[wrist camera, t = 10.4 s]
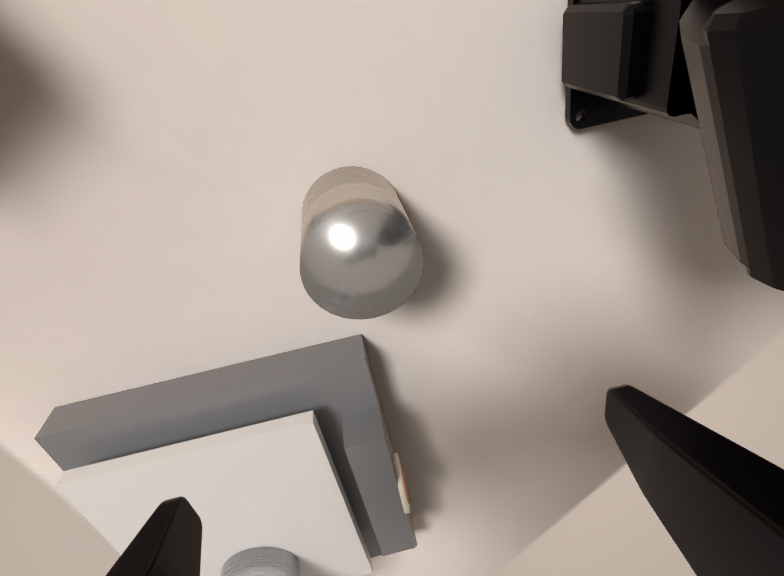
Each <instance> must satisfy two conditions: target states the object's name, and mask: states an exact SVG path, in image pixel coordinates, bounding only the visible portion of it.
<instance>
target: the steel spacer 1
mask: <svg viewBox="0 0 784 576" xmlns="http://www.w3.org/2000/svg"><path fill="white" fill-rule="evenodd" d="M220 576H300V562H299V560H298V558H297V557H296V556H295V555H294V554H293V553H292V552H290V551H288V550H285V549H282V548H278V547H268V546H264V547H255V548H250V549H246V550H243V551H241V552H238V553H236V554H235V555H233V556H231V557H230V558H229V559H228V560H227V561H226V562H225V563H224V564H223V566H222V569H221V575H220Z"/></svg>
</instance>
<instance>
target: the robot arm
mask: <svg viewBox="0 0 784 576" xmlns="http://www.w3.org/2000/svg"><path fill="white" fill-rule="evenodd" d="M562 82H563V83H564V84H565V85H566V110H565V118H566V122H567V124H568V125H569V126H571V127H573V128H576V129H582V128H587V127H591V126H596V125H600V124H604V123H609V122H613V121H618V120H622V119H626V118H631V117H635V116H640V115H644V114H648V113H649V114H652V115H656V116H659V117H662V118H666V119H669V120H673V121H676V122H680V123H683V124H686V125H690V126H693V127H697V128H700V130H701V134H702V139H703V144H704V149H705V153H706V158H707V163H708V168H709V173H710V177H711V182H712V187H713V192H714V196H715V201H716V206H717V211H718V215H719V220H720V225H721V230H722V234H723V239H724V243H725V245H726V246H727V247H728V248H729V249H730V251H731V252H732V253H733V254H734V255H735V256H736V258H737V259H738V260H739V261H740V262H741V263H742V264H744V265H745V266H746V268H747V273H748V274H749V275H750V277H752V278H754V279H756V280H758V281H760V282H762V283H764V284H766V285H768V286H771V287H773V288H775V289H779V290H782V291H784V0H568V7H567V9H566V10H565V12H564V14H563V54H562ZM581 110H582V113H583V114H582V117H581V118H580V120H578V121H576V114H577V113H578V112H579V111H581ZM605 420H606V423H607V425H608V428H609V429H610V431H611V433H612V435H613V437H614V439H615V441H616V443H617V445H618V447H619V449H620V451H621V453H622V454H623V456H624V458H625V460H626V462H627V464H628V466H629V468H630V470H631V472H632V474H633V476H634V478H635V479H636V481H637V483H638V485H639V487H640V489H641V490H642V492H643V494H644V496H645V497H646V499H647V500H648V502H649V504H650V505H651V507H652V508H653V509H654V511H655V513H656V514H657V516H658V517H659V519H660V520H661V522H662V523H663V525H664V526H665V528H666V530H667V531H668V533H669V534H670V535H671V537H672V539H673V540H674V542H675V543H676V545H677V546H678V548H679V549H680V551H681V552H682V554H683V555H684V557H685V558H686V560H687V561H688V563H689V564H690V566H691V568H692V569H693V571H694V572H695V574H696V575H697V576H784V469H782V468H780V467H778V466H776V465H775V464H773V463H771V462H769V461H767V460H766V459H764V458H762V457H760V456H758V455H756V454H755V453H753V452H751V451H749V450H747V449H746V448H744V447H742V446H740V445H738V444H736V443H735V442H733V441H731V440H729V439H727V438H725V437H724V436H722V435H720V434H718V433H716V432H714V431H713V430H711V429H709V428H707V427H705V426H704V425H702V424H700V423H698V422H696V421H694V420H693V419H691V418H689V417H687V416H685V415H683V414H682V413H680V412H678V411H676V410H674V409H673V408H671V407H669V406H667V405H665V404H663V403H662V402H660V401H658V400H656V399H654V398H652V397H651V396H649V395H647V394H645V393H643V392H642V391H640V390H638V389H636V388H634V387H632V386H630V385H621V386H617V387H613V388H610V389H609V390H608V391H607V395H606V406H605ZM201 546H202V522H201V519H200V517H199V515H198V514H197V513H196V511H195V510H194V509H193V507H192V506H191V504H190V503H189V502H188V500H187V499H186V498H185V497H182V496H180V497H176V498H172V499H168V500H165V501H163V502H162V503H161V504H159V506H158V507H157V508H156V510H155V511H154V512H153V514H152V515H151V516H150V517H149V519H148V520H147V521H146V523H145V524H144V525H143V527H142V528H141V529H140V531H139V532H138V533H137V535H136V536H135V537H134V539H133V540H132V541H131V543H130V544H129V545H128V547H127V548H126V549H125V551H124V552H123V553H122V555H121V556H120V557H119V559H118V560H117V561H116V563H115V564H114V565H113V567H112V568H111V569H110V571H109V572H108V573H107V575H106V576H200V566H201Z"/></svg>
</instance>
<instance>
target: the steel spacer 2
mask: <svg viewBox="0 0 784 576" xmlns="http://www.w3.org/2000/svg"><path fill="white" fill-rule="evenodd" d="M423 268H424V256H423V250H422V246H421V244H420V242H419V239H418V237H417V235H416V233H415V231H414V229H413V227H412V225H411V223H410V220H409V218H408V216H407V214H406V212H405V210H404V208H403V206H402V204H401V202H400V200H399V197H398V195H397V193H396V192H395V190H394V188H393V187H392V185H391V184H390V183H389V182H388V181H387V180H386V179H385V178H384V177H383V176H381V175H380V174H378V173H376V172H374V171H372V170H370V169H367V168H362V167H355V166H352V167H342V168H338V169H334V170H332V171H330V172H328V173H326V174H324V175H323V176H321V177H320V178H319V179H318V180H317V181H316V182H315V183H314V184H313V185H312V186H311V188H310V189H309V191H308V193H307V194H306V197H305V200H304V203H303V208H302V228H301V251H300V275H301V279H302V283H303V285H304V288H305V290H306V291H307V293H308V295H309V296H310V297H311V298H312V300H313V301H314V302H315V303H316V304H317V305H319V306H320V307H321V308H323V309H324V310H326V311H328V312H330V313H331V314H334V315H337V316H340V317H343V318H349V319H369V318H375V317H378V316H382V315H384V314H387V313H389V312H391V311H393V310H395V309H396V308H398V307H399V306H401V305H402V304H403V303H404V302H405V301H407V300H408V299H409V297H410V296H411V295H412V294H413V293H414V291H415V290H416V288H417V286H418V284H419V282H420V280H421V277H422V273H423Z"/></svg>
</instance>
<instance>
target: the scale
mask: <svg viewBox="0 0 784 576" xmlns="http://www.w3.org/2000/svg"><path fill="white" fill-rule="evenodd" d="M35 440H36V441H37V442H38V443H39V444H40V445H41V447H42V448H43V449H44V450H45V451H46V452H47V453H48V454H49V455H50V456H51V458H52V459H53V460H54V461H55V462H56V463H57V464H58V465H59V466H60V468H61V469H62V470H63V473H62V475H61V477H60V479H59V481H58V482H57V484H56V487H57V488H58V489H59V490H60V491H61V492H62V493H63V494H64V496H65V497H66V498H67V499H68V500H69V501H70V502H71V503H72V504H73V505H74V506H75V507H76V508H77V509H78V510H79V511H80V513H81V514H82V515H83V516H84V517H85V518H86V519H87V520H88V521H89V522H90V523H91V524H92V525H93V526H94V527H95V528H96V529H97V530H98V532H99V533H100V534H101V535H102V536H103V537H104V538H105V539H106V540H107V541H108V542H109V543H110V544H111V545H112V546H113V547H114V549H115V550H116V551H117V552H118V553H119V554H120V555H122V553H123V552H124V551H125V549H126V548H127V547H128V545H129V544H130V543H131V541H132V540H133V539H134V537H135V536H136V535H137V533H138V532H139V531H140V529H141V528H142V527H143V525H144V524H145V523H146V521H147V520H148V519H149V517H150V516H151V515H152V514H153V512H154V511H155V510H156V508H157V507H158V506H159V504H161V503H162V502H163V501H165V500H168V499H172V498H176V497H180V496H182V497H185V498H186V499H187V500H188V502H189V503H190V504H191V506H192V507H193V509H194V510H195V511H196V513H197V514H198V515H199V517H200V519H201V522H202V546H201V566H200V576H220V575H221V569H222V566H223V564H224V563H225V562H226V561H227V560H228V559H229V558H230V557H231V556H233V555H235V554H236V553H238V552H241V551H243V550H246V549H250V548H255V547H264V546H268V547H278V548H282V549H285V550H288V551H290V552H292V553H293V554H294V555H295V556H296V557H297V558H298V560H299V562H300V576H364V575H368V574H372V573H373V568H372V560H371V557H375V556H379V555H383V556H384V555H388V554H392V553H396V552H400V551H404V550H408V549H412V548H415V546H417V541H416V536H415V531H414V526H413V521H412V517H411V513H410V512H411V511H410V505H409V504H410V501H409V496H408V491H407V486H406V481H405V476H404V471H403V470H402V468H401V464H400V460H399V456H398V453H397V452H396V453H394V451H393V448H392V444H391V440H390V437H389V433H388V429H387V426H386V422H385V418H384V415H383V411H382V407H381V404H380V400H379V396H378V393H377V389H376V385H375V382H374V378H373V375H372V371H371V367H370V364H369V360H368V356H367V353H366V349H365V345H364V342H363V338H362V334H360V335H356V336H352V337H348V338H344V339H339V340H335V341H331V342H327V343H323V344H318V345H314V346H310V347H306V348H302V349H298V350H293V351H289V352H285V353H281V354H277V355H273V356H268V357H264V358H260V359H256V360H252V361H247V362H243V363H239V364H235V365H231V366H227V367H222V368H218V369H214V370H210V371H206V372H202V373H197V374H193V375H189V376H185V377H181V378H176V379H172V380H168V381H164V382H160V383H156V384H151V385H147V386H143V387H139V388H135V389H130V390H126V391H122V392H118V393H114V394H110V395H105V396H101V397H97V398H93V399H89V400H85V401H80V402H76V403H72V404H68V405H64V406H59V407H55V408H54V409H53V411H52V412H51V414H50V416H49V417H48V419H47V420H46V422H45V423H44V425H43V426H42V428H41V429H40V431H39V432H38V434H37V435H36V437H35Z"/></svg>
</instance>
